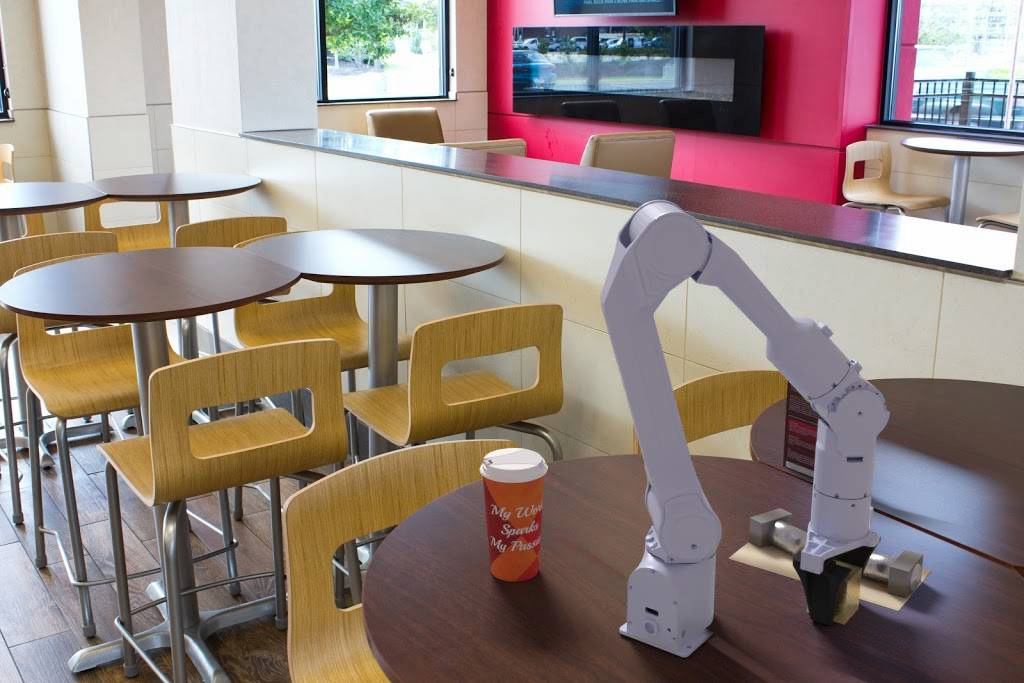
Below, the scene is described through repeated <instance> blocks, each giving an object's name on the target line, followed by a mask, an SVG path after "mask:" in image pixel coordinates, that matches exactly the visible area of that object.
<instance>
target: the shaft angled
mask: <svg viewBox="0 0 1024 683" xmlns="http://www.w3.org/2000/svg"><path fill="white" fill-rule="evenodd" d="M807 532H808V531H804V530H802V529H801V528H798V527H796V526H794V525H790V524H788V523H786V522H784V521H782V520H777V521H775V522H773V523H772V525H771V526H770V528H769V530H768V540H769V542H770V543H772V544H774V545H776V546H778V547H780V548H782V549H784V550H786V551H787V552H789V553H791V554H793V555H795V554H796V553H797V552H799V551H800V550H801V551H802V550H803V549H804V548H805V546H806V540H807Z"/></svg>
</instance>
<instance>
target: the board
mask: <svg viewBox="0 0 1024 683" xmlns="http://www.w3.org/2000/svg"><path fill="white" fill-rule="evenodd" d="M777 520H782V521H784V522H786V523H788V524H790V525H792V524H793V523H792V522H793V513H791V512H789V511H787V510H785V509H784V508H783V509H782V508H781V507H779V508H776V509H773V510H769V511H767V512H764V513H761V514H758V515H757V514H756V515H753V516H750V517H749V529H748V542H746V544H744V545H743V546H742V547H740V548H739V549H738V550H737V551H735V552H734V553H733V554H731V555H730V556H729V557H728V558H727V559H728V560H731V561H735V562H738V563H741V564H744V565H747V566H750V567H752V568H753V567H754V568H757V569H761V570H763V571H767V572H770V573H772V574H776V575H780V576H782V577H785V578H786V577H787V578H790V579H793V580H795V581H800V582H801V580H800V578H799V576H798V574H797V572H796V570H795V569H794V567H793V556H794V555H793V554H791V553H789V552H787V551H786V550H784V549H782V548H780V547H778V546H776V545H774V544H772V543H770V542H769V540H768V530H769V528H770V526H771V525H772V523H773V522H775V521H777ZM792 526H793V525H792ZM896 558H897V559H896V560H895V561H894V562H893V563H892V564H891V566H890V569H889V580H888V584H887V583H884V582H880V581H877V580H874V579H870V578H867V577H863V576H862V579H861V585H860V597H859V601H860V600H861V601H863V602H868V603H870V604H874V605H876V606H881V607H883V608H887V609H890V610H894V611H896V612H899V611H900V610H901V609H902V607H904V605H905V604H906V603H907V602H908V600H909V599H910V598H911V596H913V594H914V593H916V590H915V591H911V589H910V581H911V576H912V572H913V569H914V567H915V565H916V564H920V565H921V576H920V581H919V584H918V586H917V589H918V588H919V587H920V586H921V585H922V583H923V582H924V581H925V579H926V578H927V577H928V576H929V575H930V574H931V572H932V570H929V569H925V568H924V567H923V562H924V554H923V553H920V552H917V551H913V550H909V549H904V550H903V551H902V552H901V553H900V554H899V556H898V557H896Z"/></svg>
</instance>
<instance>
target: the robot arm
mask: <svg viewBox="0 0 1024 683" xmlns="http://www.w3.org/2000/svg"><path fill="white" fill-rule="evenodd" d="M689 278H691V279H692V280H693V281H694V282H695V283H696V284H699V285H705V286H711V287H716V288H718V289H719V290H720V291H721V292H722V293H723V294H724V295H725V296H726V297H727V299H729V300H730V301H731V302H732V303H733V304H734V305H735V306H736V307H737V308H738V309H739V310H740V312H741V313H743V315H744V316H745V317H746V318H747V319H748V320H749V321H750V322H751V323H752V324H753V325H754V326H755V327H756V328H757V329H758V330H759V332H761V333H762V334H763V335H764V336H765V337H766V344H765V345H766V348H765V355H766V358H767V360H768V361H769V362H770V363H771V364H772V365H773V367H775V368H776V369H777V370H778V372H779V373H780V374H781V375H782V376H783V377H784V378H785V379H786V380H787V382H788V381H789V382H790V383H791V384H792V385H793V387H794V388H795V389H796V390H797V391H798V392H799V393H800V394H801V395H802V396H803V397H804V398H805V399H806V400H807V401H808V402H810V404H811V407H812V409H813V410H814V411H816V412H818V414H819V415H820V416H821V417H822V418H823V419H824V420H825V421H824V420H823V419H819V420H818V432H817V442H816V452H815V467H814V478H813V484H812V498H811V511H810V521H809V522H808V525H807V531H806V532H807V540H806V546H805V548H804V549H803V550H802V551H801V550H800V551H799V552H797V553H796V554H795V555H794V556H793V567H794V569H795V570H796V572H797V574H798V576H799V578H800V580H801V581H800V582H801V585H802V587H803V591H804V596H805V599H806V600H805V601H806V604H807V605H806V606H808V611H809V613H808V614H809V618H810V620H811V621H812V622H813V621H814V622H817V623H820V624H823V625H824V626H825V625H826V626H830V625H832V623H833V622H834V621H833V619H834V616H835V612H836V608H837V603H838V599H839V595H840V592H841V589H842V587H843V584H844V582H845V580H846V579H847V577H848V575H849V574H850V572H851V571H852V570H853V569H851V568H847V567H844V566H841V565H837V564H836V560H838V561H841V562H845V563H848V564H851V565H855V566H858V567H862V572H861V579H862V576H863V573H864V570H865V568H866V565H867V563H868V561H869V559H870V557H871V555H872V553H873V551H874V552H875V550H876V548H877V546H879V544H880V543H881V539H882V538H881V537H882V536H880V534H879V533H877V532H874V531H872V530H871V525H872V524H873V517H874V507H873V506H872V505H871V504H872V495H873V494H872V493H873V487H874V485H873V484H874V483H873V482H874V472H875V462H876V446H877V437H878V435H879V434H880V433H881V432H882V431H883V430H884V429H885V427H886V426H887V424H888V422H889V420H890V419H889V418H890V415H891V412H890V411H889V410H888V409H887V405H886V404H885V403H886V399H885V396H884V395H883V394H882V392H881V391H880V390H879V389H878V388H877V387H875V385H873V384H872V383H870V381H868V380H867V379H866V378H864V377H863V376H862V375H861V374H860V372H861V371H862V370H863V366H862V365H861V364H860V363H859V362H858V361H857V360H856V359H855V358H851V359H849V358H848V357H847V356H846V355H845V353H843V351H842V350H841V349H840V348H839V347H838V346H837V345H836V343H835V342H833V340H832V339H831V337H832V336H833V335H834V332H833V331H832V330H831V329H830V328H829V326H828V325H827V324H825V323H824V322H823V321H820V322H819V323H818V324H817V323H816V322H815V320H814V319H812V318H810V317H798V316H795V317H794V316H791V314H789V312H788V310H786V308H785V307H784V306H783V305H782V304H781V303H780V302H779V301H778V299H777V298H776V297H775V296H774V295H773V294H772V292H771V291H770V290H769V288H767V286H766V285H765V283H763V281H761V279H760V278H759V277H758V276H757V275H756V274H755V272H754V271H753V270H752V269H751V268H750V267H749V265H748V264H747V263H746V262H745V261H744V260H743V258H742V257H741V256H740V255H739V254H738V253H737V252H736V251H735V250H734V249H733V248H731V247H730V246H729V245H728V244H726V243H725V242H724V241H723V240H721V238H719V237H717V236H716V235H715V234H713V232H711V231H709V230H708V229H707V228H705V227H704V226H703V224H702V223H701V221H699V220H698V219H697V218H696V217H694V216H693V215H691V214H689V213H687V212H685V211H684V210H683V209H682V208H681V207H680V206H679V205H678V204H676V203H674V202H672V201H669V200H665V199H654V200H651V201H647V202H644V203H643V204H642V205H640V206H638V208H637V209H635V211H634V212H632V214H631V215H630V217H629V218H628V219H627V221H625V223H624V224H623V225H622V227H621V228H620V229H619V231H618V232H617V238H616V243H615V248H614V253H613V255H612V259H611V261H610V265H609V267H608V270H607V275H606V277H605V279H604V283H603V286H602V290H601V294H600V307H601V312H602V314H603V318H604V322H605V325H606V329H607V333H608V336H609V340H610V343H611V346H612V351H613V354H614V358H615V362H616V365H617V368H618V372H619V376H620V379H621V383H622V386H623V390H624V393H625V397H626V400H627V404H628V405H627V406H628V409H629V412H630V415H631V416H630V417H631V419H632V423H633V426H634V429H635V434H636V437H637V441H638V445H639V447H640V448H639V449H640V451H641V456H642V459H643V462H644V471H645V474H646V481H647V482H646V484H647V486H646V488H645V489H646V490H645V492H644V493H645V494H644V504H645V507H646V510H647V511H646V512H648V514H649V515H650V518H651V520H652V523H653V524H652V525H651V527H650V528H649V530H648V533H647V535H646V536H645V538H644V539H645V540H644V541H645V544H644V545H645V546H644V552H643V556H642V559H641V561H640V563H639V565H638V566H637V567H636V568H635V569H634V570H633V571H632V573H631V574H630V576H629V577H628V580H627V585H626V586H627V588H626V589H627V593H626V595H627V596H626V600H627V601H626V622H625V623H623V625H621V626H620V627H619V630H618V631H619V633H620V634H621V635H623V636H627V637H629V638H631V639H634V640H637V641H639V642H642V643H644V644H647V645H650V646H653V647H655V648H658V649H660V650H663V651H666V652H668V653H670V654H672V655H675V656H679V657H680V658H687V657H689V656H690V655H692V653H693V652H695V651H696V650H697V649H698V648H699V647H701V645H703V644H704V643H705V642H706V641H707V640H708V639H709V638H711V636H713V635H714V633H713V632H712V631H711V630H709V629H707V628H708V627H709V626H710V625H711V624H712V623H713V620H714V612H715V611H714V610H715V609H714V608H715V586H716V585H715V584H716V562H717V548H718V546H719V544H720V543H721V539H722V535H723V530H722V529H723V528H722V523H721V520H720V519H719V518H720V517H719V516H718V515H717V513H715V511H714V510H713V508H712V506H711V504H710V502H709V501H708V499H707V497H706V495H705V492H704V489H703V486H702V483H701V482H700V480H699V479H698V478H699V477H698V476H697V473H696V470H695V466H694V464H693V461H692V458H691V457H692V456H691V454H690V449H689V445H688V442H687V439H686V433H685V431H684V428H683V427H684V426H683V423H682V419H681V416H680V411H679V408H678V405H677V400H676V398H675V392H674V389H673V386H672V381H671V378H670V374H669V371H668V367H667V366H668V365H667V362H666V358H665V355H664V351H663V347H662V344H661V340H660V336H659V332H658V329H657V324H656V320H655V316H654V314H655V313H656V311H657V309H658V308H659V307H660V305H661V304H662V303H663V301H664V300H665V298H667V296H668V295H669V293H670V292H671V291H672V290H674V289H675V288H676V287H678V286H679V285H681V284H682V283H683V282H685V281H686V280H687V279H689ZM833 560H835V561H833Z"/></svg>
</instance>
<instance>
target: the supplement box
mask: <svg viewBox="0 0 1024 683" xmlns="http://www.w3.org/2000/svg"><path fill="white" fill-rule="evenodd" d="M786 384H787V385H786V401H785V403H786V404H785V420H784V421H785V424H784V437H783V458H782V467H784V468H786V469H788V470H792V471H794V472H796V473H799V474H801V475H803V476H807V477H809V478H811V479H814V467H815V452H816V442H817V432H818V420H819V419H823V418H822V417H821V416H820V415H819V414H818V412H816V411H814V410H813V409H812V407H811V404H810V402H808V401H807V400H806V399H805V398H804V397H803V396H802V395H801V394H800V393H799V392H798V391H797V390H796V389H795V388H794V387H793V385H792V384H791V383H790V382H789V381H788V380H787V383H786ZM823 420H824V419H823ZM824 421H825V420H824Z"/></svg>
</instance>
